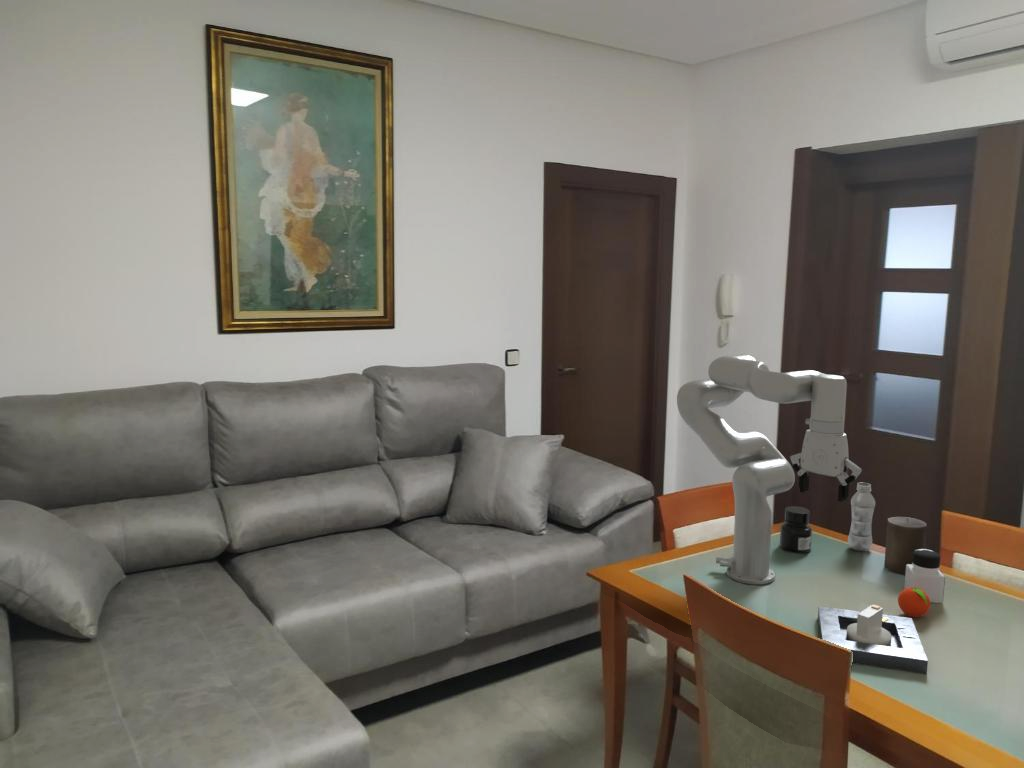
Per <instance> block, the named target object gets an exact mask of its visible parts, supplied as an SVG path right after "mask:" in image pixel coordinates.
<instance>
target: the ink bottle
mask: <svg viewBox="0 0 1024 768" xmlns="http://www.w3.org/2000/svg"><path fill="white" fill-rule="evenodd" d="M809 523H810V510H809V509H808V508H806V507H802V506H797V505H794V506H787V507H785V509H784V522H783V523H782V524H781V525H780V533H779V548H780V549H782V550H784V551H786V552H790V553H795V554H806V553H809V552H810V551H811V550H812V546H813V545H812V543H813V542H812V540H813V528H812V527H811V526H810V524H809Z"/></svg>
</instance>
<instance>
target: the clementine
mask: <svg viewBox="0 0 1024 768" xmlns="http://www.w3.org/2000/svg"><path fill="white" fill-rule="evenodd" d="M897 603H898V604H897V605H898V607H899V608H900V611H902V612H903V613H904V614H905V615H907V616H909V617H910V618H911V617H913V618H921V617H924V616H925V615H926V614H928V613H929V611H930V609H931V602H930V599H929V597H928V596H927V594H926V593H925V592H924V591H922V590H921V589H919V588H915V587H909V588H906V589H903V590H902V591H901V592H900V593H899V594H898V597H897Z"/></svg>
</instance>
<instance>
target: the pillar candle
mask: <svg viewBox="0 0 1024 768" xmlns="http://www.w3.org/2000/svg"><path fill="white" fill-rule="evenodd" d="M886 526H887V528H886V537H885V538H886V539H885V549H884V550H885V554H884V564H883V566H884V569H886V570H887V571H889V572H892V573H894V574H898V575H903V576H905V574H906V565H907V564H912V562H913V552H914V551H915V550H918V549H926V541H927V539H926V538H927V526H928V525H927V523H926V522H925V521H923V520H921V519H918V518H915V517H914V518H912V517H908V516H893V517H891V516H890V517H889V518H888V517H887V525H886Z"/></svg>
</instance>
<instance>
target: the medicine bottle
mask: <svg viewBox="0 0 1024 768" xmlns="http://www.w3.org/2000/svg"><path fill="white" fill-rule="evenodd" d="M940 567H941V555H940V554H939V553H938V552H936V551H934V550H931V549H927V548H925V549H918V550H915V551H914V552H913V562H912V564H907V565H906V574H905V575H904V577H905V579H904V589H906V588H909V587H915V588H919V589H921V590H922V591H924V592H925V593H926V594H927V596H928V597H929V599H930V604H931V603H933V604H944V596H945V584H946V576H945V575H944V574H943V573H942V572H941V571H940ZM904 589H903V590H904Z"/></svg>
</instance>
